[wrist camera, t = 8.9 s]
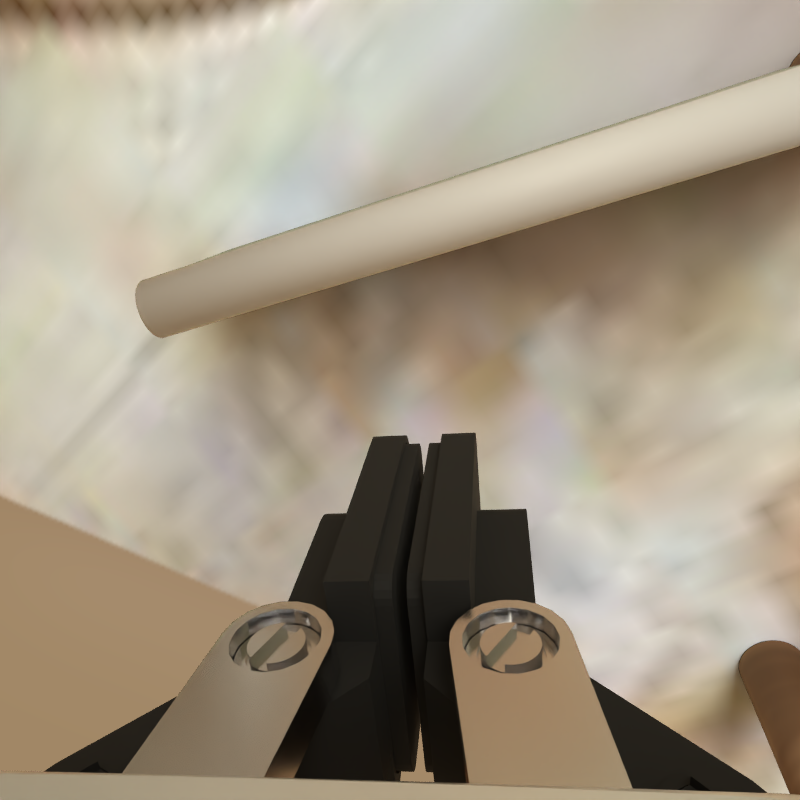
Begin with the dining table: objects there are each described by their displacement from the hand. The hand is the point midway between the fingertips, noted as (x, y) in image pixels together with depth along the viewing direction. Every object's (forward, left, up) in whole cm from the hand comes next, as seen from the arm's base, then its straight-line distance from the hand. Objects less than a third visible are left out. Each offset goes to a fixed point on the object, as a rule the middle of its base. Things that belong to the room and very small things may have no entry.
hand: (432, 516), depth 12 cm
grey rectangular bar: (-4, +1, -13) cm, 14 cm away
